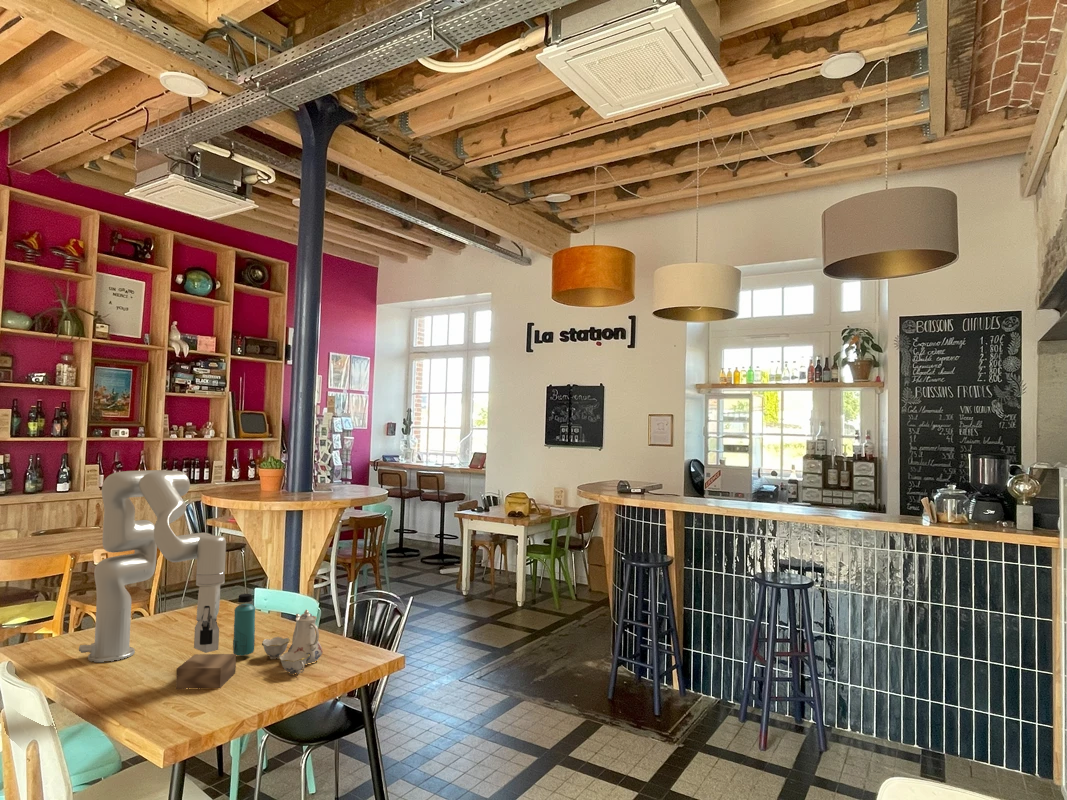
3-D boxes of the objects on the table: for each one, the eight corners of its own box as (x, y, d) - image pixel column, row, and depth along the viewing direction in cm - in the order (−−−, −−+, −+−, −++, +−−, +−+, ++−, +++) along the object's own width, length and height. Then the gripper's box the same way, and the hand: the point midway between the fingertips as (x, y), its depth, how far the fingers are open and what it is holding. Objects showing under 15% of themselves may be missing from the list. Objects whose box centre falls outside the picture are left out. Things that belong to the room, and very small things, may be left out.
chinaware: (252, 662, 213) (249, 611, 212) (302, 645, 224) (299, 597, 224) (290, 687, 193) (286, 630, 192) (342, 667, 204) (339, 614, 204)
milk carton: (205, 652, 189) (207, 617, 189) (193, 648, 193) (195, 613, 193) (218, 649, 192) (219, 614, 192) (206, 644, 196) (207, 610, 196)
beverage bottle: (258, 655, 214) (261, 593, 215) (243, 661, 208) (246, 597, 209) (242, 652, 217) (245, 591, 218) (227, 659, 210) (229, 595, 211)
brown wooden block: (175, 690, 185) (176, 668, 186) (193, 674, 197) (194, 654, 198) (219, 689, 186) (220, 668, 187) (235, 674, 198) (236, 653, 199)
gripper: (201, 573, 200) (199, 632, 200) (191, 586, 184) (188, 650, 183) (228, 572, 203) (226, 630, 202) (220, 584, 186) (218, 647, 185)
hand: (208, 639), depth 192 cm, fingers closed on milk carton, 7 cm apart
